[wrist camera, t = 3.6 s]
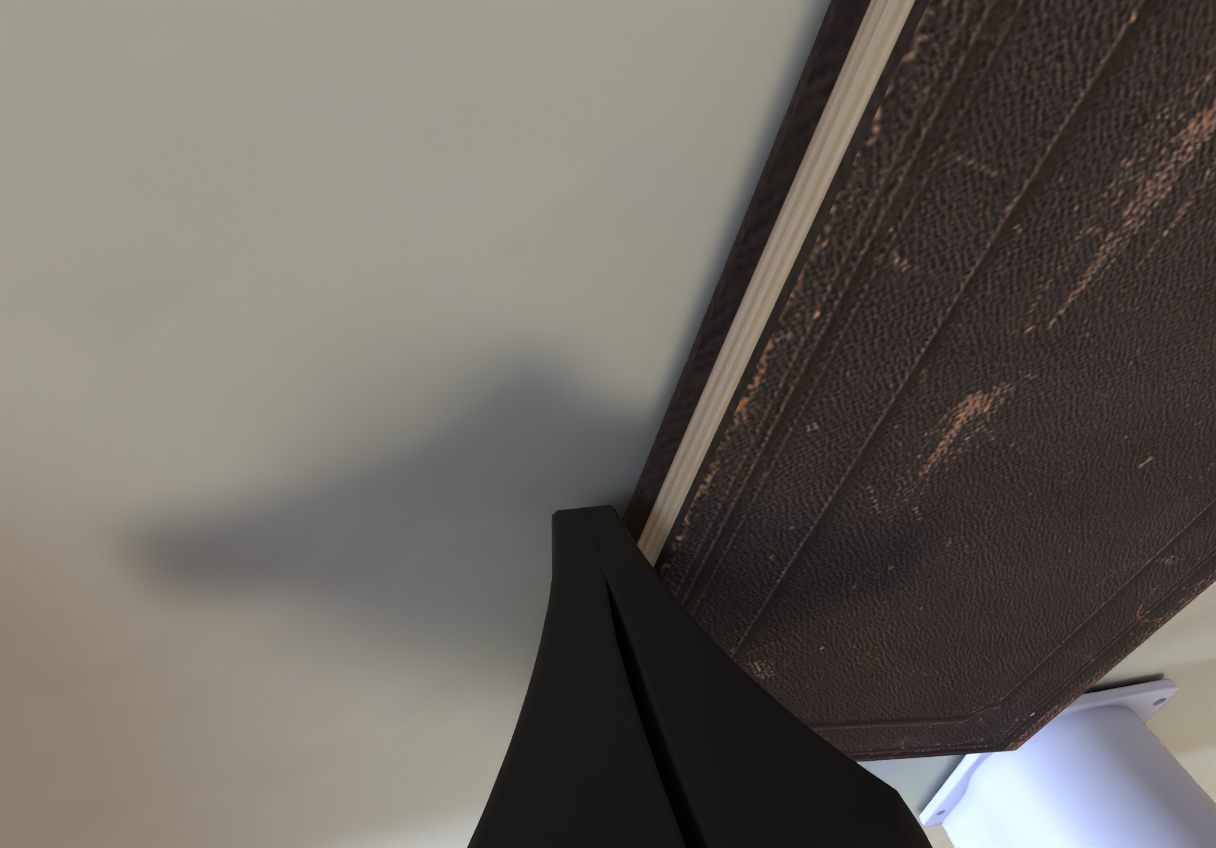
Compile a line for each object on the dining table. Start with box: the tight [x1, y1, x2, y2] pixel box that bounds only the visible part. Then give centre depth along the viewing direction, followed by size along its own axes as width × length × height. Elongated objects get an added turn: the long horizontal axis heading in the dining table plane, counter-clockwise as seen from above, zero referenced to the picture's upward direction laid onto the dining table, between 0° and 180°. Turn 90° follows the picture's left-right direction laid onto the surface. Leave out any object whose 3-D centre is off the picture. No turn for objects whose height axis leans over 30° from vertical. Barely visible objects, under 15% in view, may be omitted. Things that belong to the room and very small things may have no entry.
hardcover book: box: [622, 0, 1216, 762], centre depth 13 cm, size 16×23×2 cm
